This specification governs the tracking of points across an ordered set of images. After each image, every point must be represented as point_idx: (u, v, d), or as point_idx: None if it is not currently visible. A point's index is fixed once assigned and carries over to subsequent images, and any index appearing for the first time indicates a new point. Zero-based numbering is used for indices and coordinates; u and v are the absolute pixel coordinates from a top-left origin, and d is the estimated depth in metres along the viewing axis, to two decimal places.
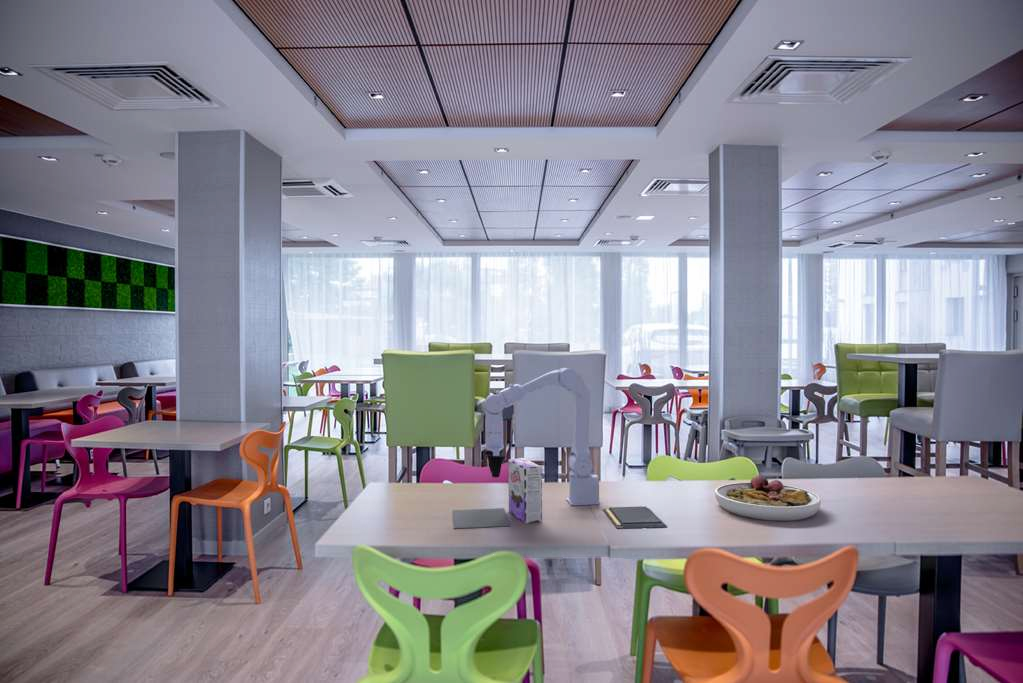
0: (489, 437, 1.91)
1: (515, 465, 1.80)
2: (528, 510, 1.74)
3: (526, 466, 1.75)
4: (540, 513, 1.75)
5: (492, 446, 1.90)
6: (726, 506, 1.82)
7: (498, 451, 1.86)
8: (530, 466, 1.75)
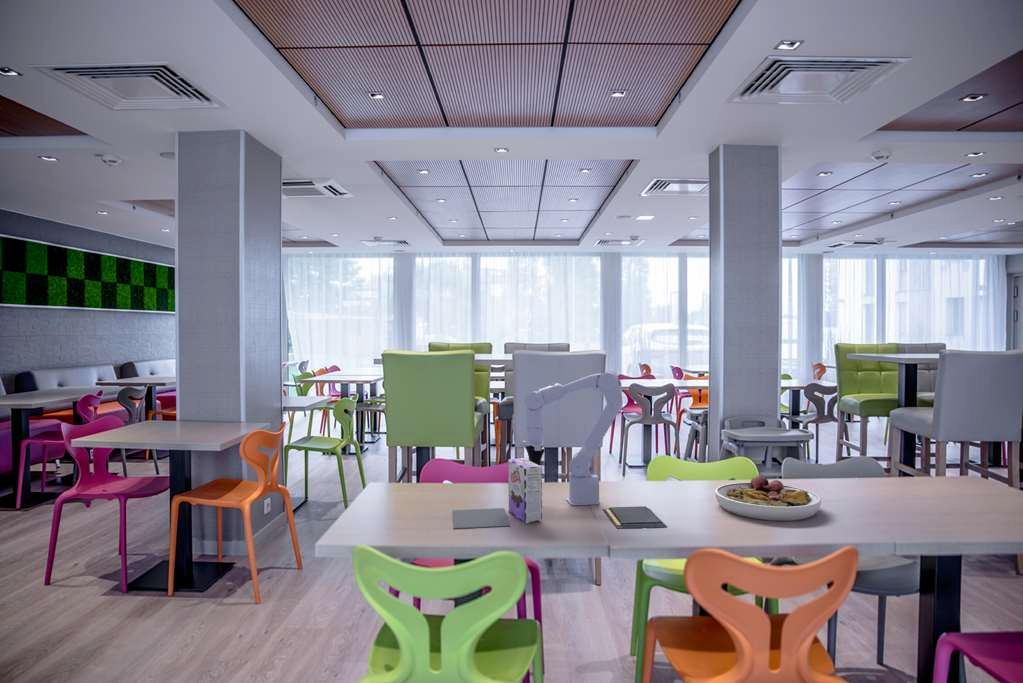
0: (530, 432, 1.97)
1: (515, 465, 1.80)
2: (528, 510, 1.74)
3: (526, 466, 1.75)
4: (540, 513, 1.75)
5: (533, 441, 1.97)
6: (726, 506, 1.82)
7: (540, 446, 1.92)
8: (530, 466, 1.75)
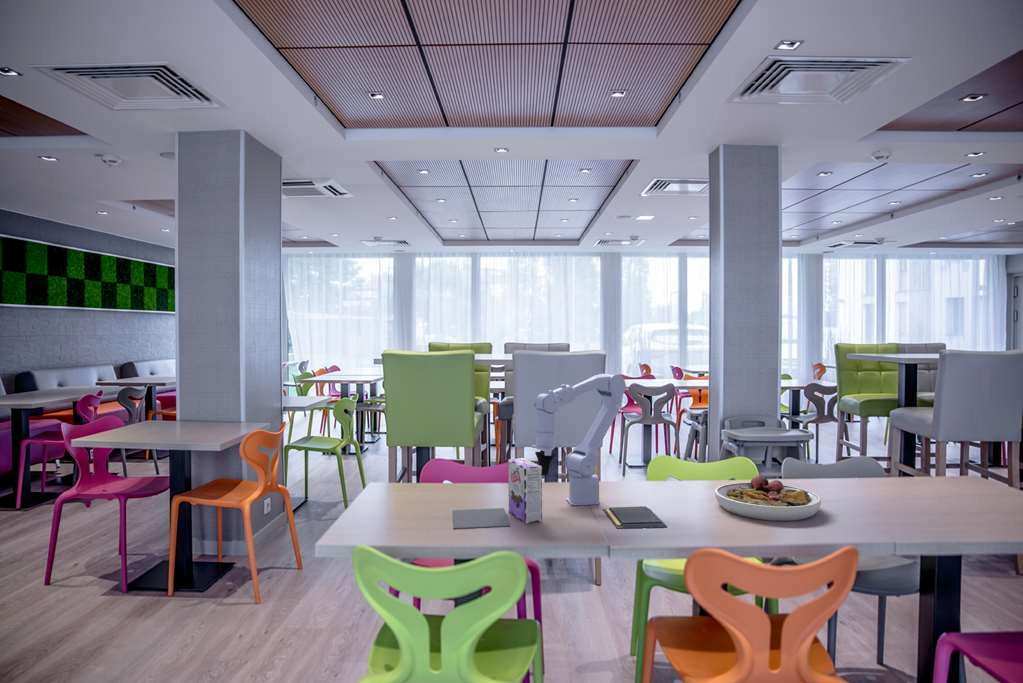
0: (540, 436, 1.88)
1: (515, 465, 1.80)
2: (528, 510, 1.74)
3: (526, 466, 1.75)
4: (540, 513, 1.75)
5: (543, 446, 1.87)
6: (726, 506, 1.82)
7: (550, 451, 1.83)
8: (530, 466, 1.75)
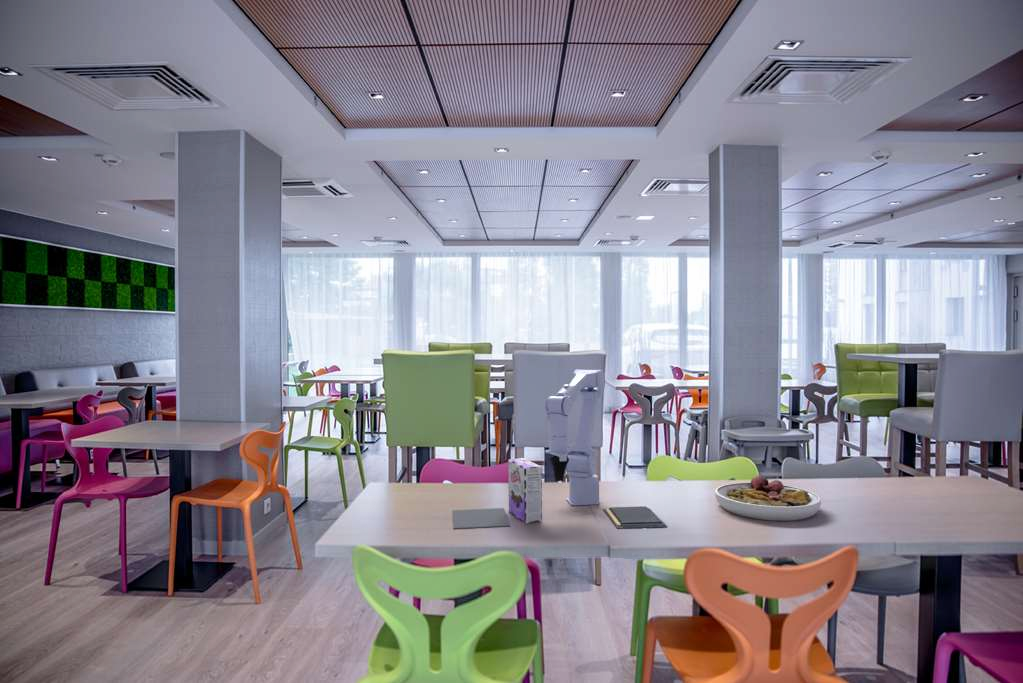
0: (554, 441, 1.80)
1: (515, 465, 1.80)
2: (528, 510, 1.74)
3: (526, 466, 1.75)
4: (540, 513, 1.75)
5: (557, 451, 1.79)
6: (726, 506, 1.82)
7: (565, 456, 1.75)
8: (530, 466, 1.75)
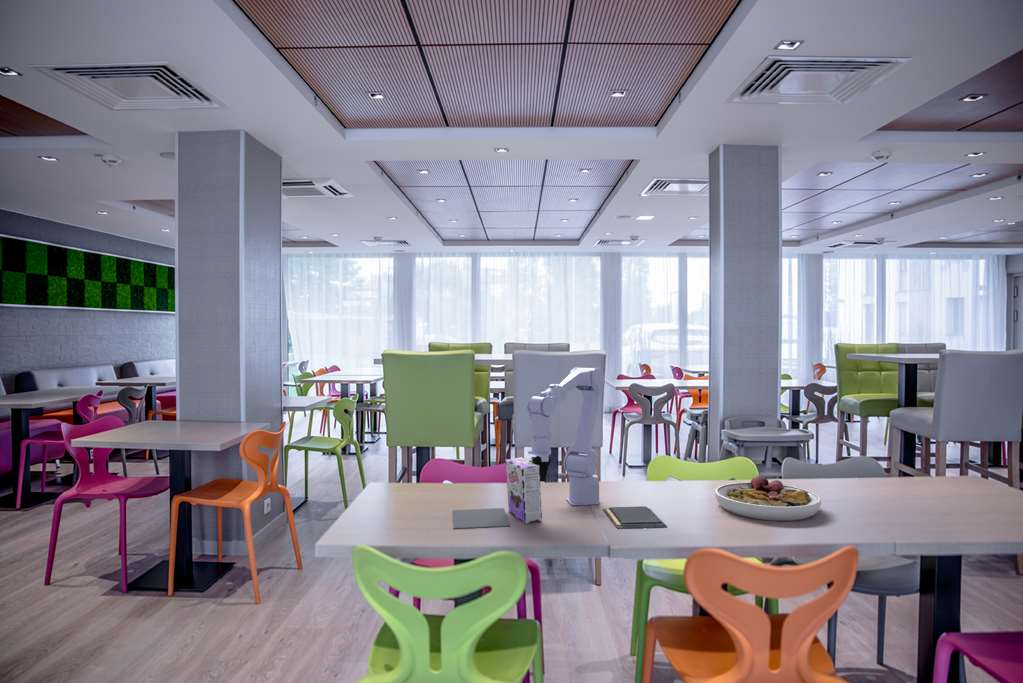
0: (536, 441, 1.79)
1: (513, 466, 1.80)
2: (527, 509, 1.74)
3: (523, 466, 1.75)
4: (540, 512, 1.75)
5: (539, 451, 1.79)
6: (726, 506, 1.82)
7: (547, 456, 1.74)
8: (527, 466, 1.75)
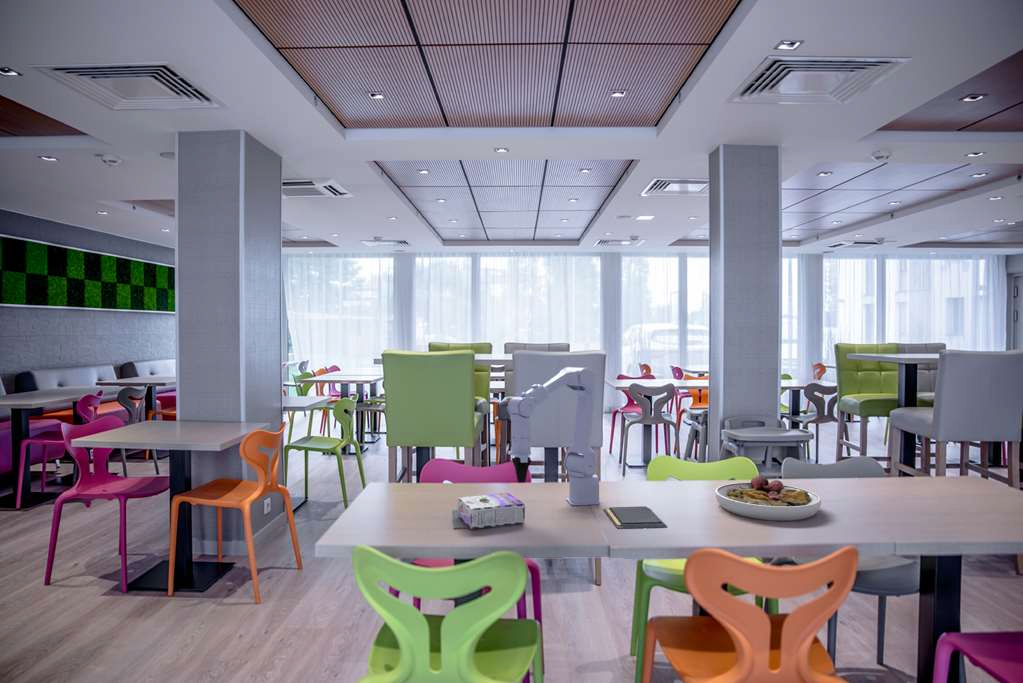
0: (516, 442, 1.78)
1: None
2: (512, 520, 1.72)
3: (469, 523, 1.69)
4: (516, 506, 1.73)
5: (519, 452, 1.78)
6: (726, 506, 1.82)
7: (526, 457, 1.74)
8: (469, 519, 1.69)
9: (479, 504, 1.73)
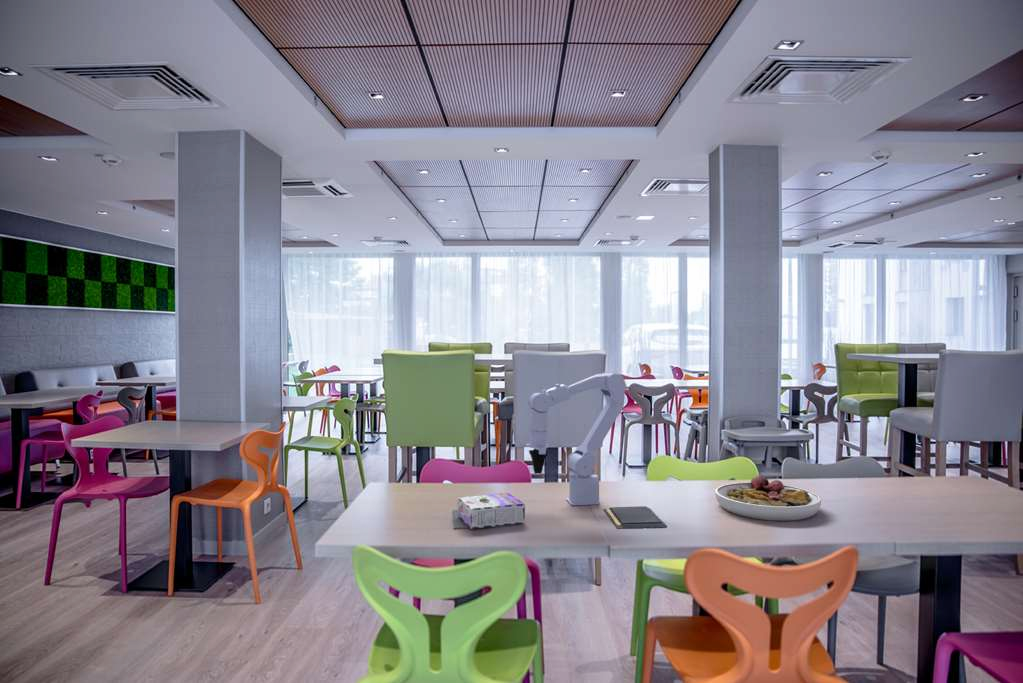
0: (534, 435, 1.90)
1: None
2: (512, 520, 1.72)
3: (469, 523, 1.69)
4: (516, 506, 1.73)
5: (537, 444, 1.90)
6: (726, 506, 1.82)
7: (544, 449, 1.86)
8: (469, 519, 1.69)
9: (479, 504, 1.73)
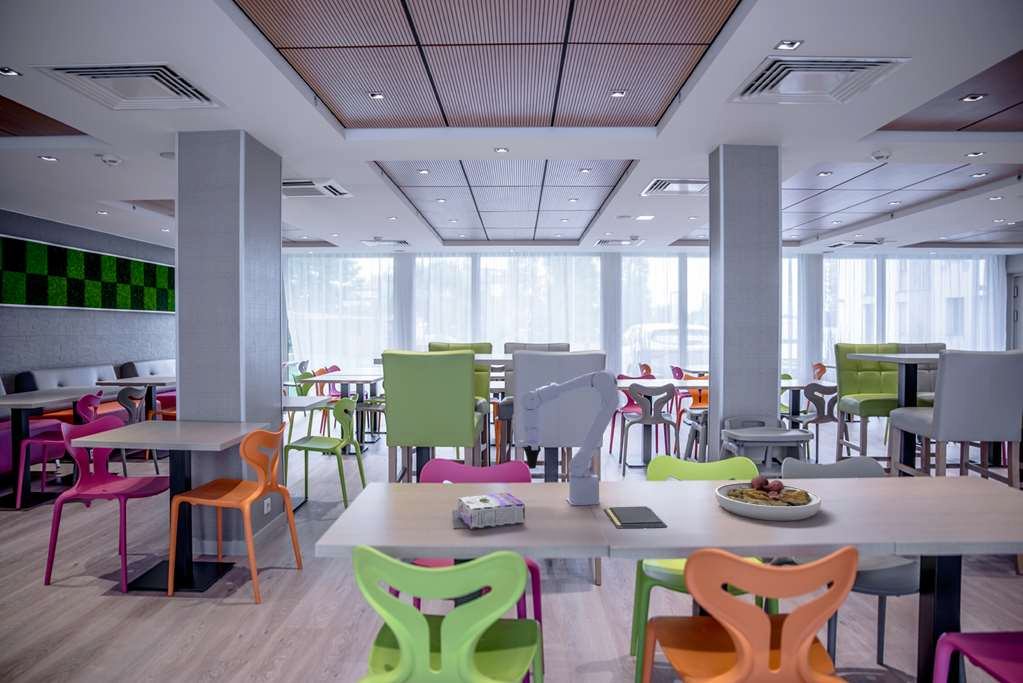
0: (527, 432, 1.98)
1: None
2: (512, 520, 1.72)
3: (469, 523, 1.69)
4: (516, 506, 1.73)
5: (530, 441, 1.98)
6: (726, 506, 1.82)
7: (537, 445, 1.93)
8: (469, 519, 1.69)
9: (479, 504, 1.73)
